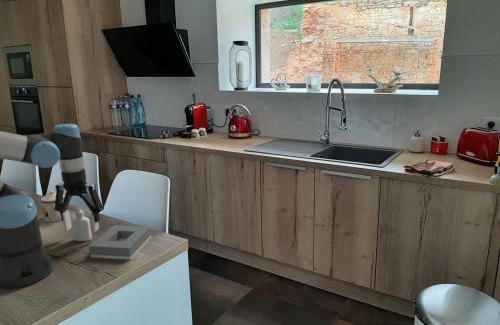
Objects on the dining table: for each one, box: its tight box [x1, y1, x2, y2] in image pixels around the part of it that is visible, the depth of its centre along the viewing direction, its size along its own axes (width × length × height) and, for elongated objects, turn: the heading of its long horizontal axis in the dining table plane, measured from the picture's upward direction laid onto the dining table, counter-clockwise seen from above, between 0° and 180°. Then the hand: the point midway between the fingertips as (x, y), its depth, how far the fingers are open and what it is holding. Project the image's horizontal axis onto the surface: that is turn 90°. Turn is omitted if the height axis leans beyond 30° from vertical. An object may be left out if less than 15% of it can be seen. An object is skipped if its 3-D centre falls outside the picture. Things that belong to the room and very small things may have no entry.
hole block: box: [88, 225, 152, 261], centre depth 130 cm, size 16×14×4 cm
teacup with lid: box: [40, 190, 68, 223], centre depth 155 cm, size 12×9×12 cm
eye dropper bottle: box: [71, 207, 93, 242], centre depth 136 cm, size 4×6×12 cm
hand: (82, 229), depth 137 cm, fingers open, 10 cm apart
